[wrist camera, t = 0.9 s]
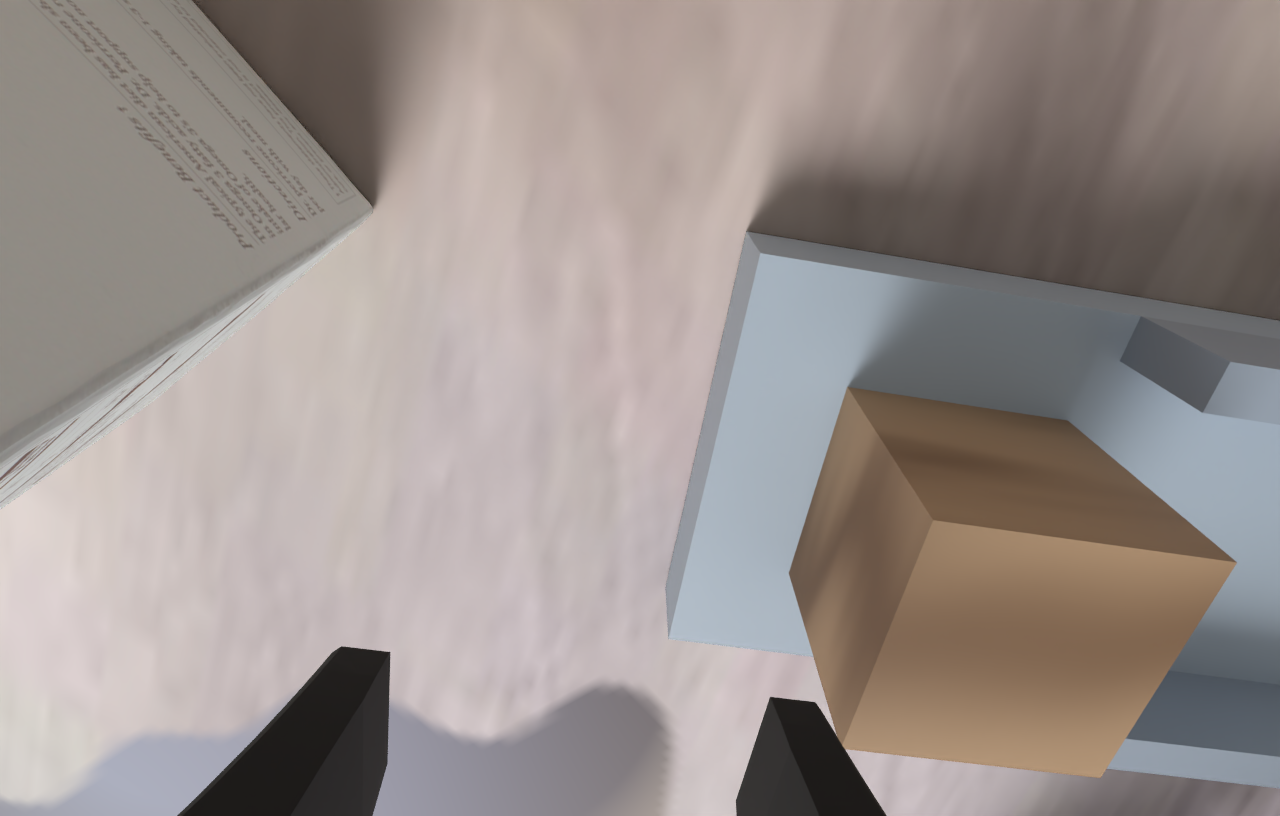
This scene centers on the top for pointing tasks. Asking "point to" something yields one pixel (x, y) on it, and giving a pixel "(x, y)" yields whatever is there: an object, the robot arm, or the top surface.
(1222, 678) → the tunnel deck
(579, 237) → the top surface
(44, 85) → the supplement box
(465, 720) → the top surface
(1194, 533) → the block
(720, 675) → the top surface
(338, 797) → the robot arm
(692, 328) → the top surface
